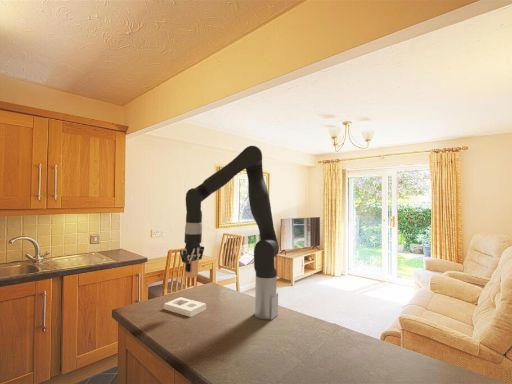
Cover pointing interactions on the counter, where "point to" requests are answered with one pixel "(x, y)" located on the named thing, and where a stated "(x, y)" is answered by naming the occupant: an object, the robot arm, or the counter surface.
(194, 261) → the block
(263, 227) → the robot arm
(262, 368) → the counter surface
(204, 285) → the counter surface
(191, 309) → the power strip
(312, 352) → the counter surface
